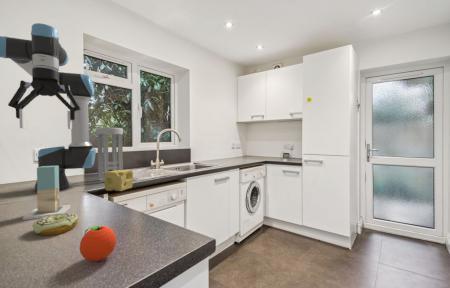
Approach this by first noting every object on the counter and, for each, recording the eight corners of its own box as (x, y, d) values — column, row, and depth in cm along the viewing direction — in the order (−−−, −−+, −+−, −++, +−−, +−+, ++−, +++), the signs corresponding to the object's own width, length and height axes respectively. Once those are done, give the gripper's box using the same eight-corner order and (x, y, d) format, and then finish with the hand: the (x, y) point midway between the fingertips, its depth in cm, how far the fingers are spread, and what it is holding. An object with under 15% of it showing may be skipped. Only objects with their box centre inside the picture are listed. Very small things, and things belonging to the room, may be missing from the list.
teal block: (42, 187, 80) (42, 166, 80) (59, 186, 82) (58, 165, 82) (37, 190, 76) (36, 167, 75) (54, 189, 78) (54, 166, 78)
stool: (127, 180, 146) (126, 128, 145) (102, 183, 134) (101, 127, 134) (117, 177, 156) (116, 129, 155) (93, 180, 144) (92, 128, 144)
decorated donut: (29, 241, 57) (29, 227, 56) (36, 228, 65) (35, 215, 65) (78, 231, 62) (77, 218, 62) (77, 220, 71) (77, 209, 71)
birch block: (42, 209, 80) (42, 187, 80) (59, 207, 82) (59, 186, 82) (37, 213, 76) (37, 190, 76) (55, 211, 78) (54, 189, 78)
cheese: (121, 191, 112) (121, 172, 112) (103, 190, 114) (103, 172, 114) (133, 187, 122) (133, 169, 122) (117, 186, 125) (116, 169, 124)
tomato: (68, 263, 46) (67, 229, 46) (98, 248, 52) (97, 218, 52) (95, 271, 43) (95, 235, 43) (123, 254, 49) (123, 222, 49)
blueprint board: (35, 210, 82) (35, 208, 81) (70, 206, 86) (70, 204, 86) (22, 220, 71) (22, 217, 71) (63, 215, 76) (63, 212, 76)
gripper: (-7, 61, 70) (-5, 127, 70) (84, 71, 80) (85, 128, 80) (5, 68, 76) (6, 128, 77) (88, 76, 87) (89, 129, 87)
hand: (47, 128), depth 78 cm, fingers open, 13 cm apart
